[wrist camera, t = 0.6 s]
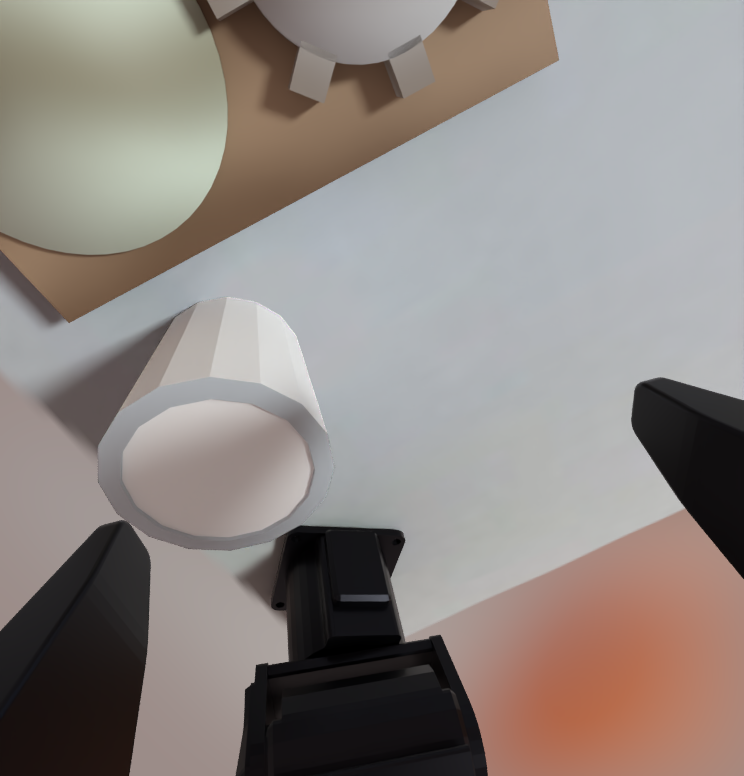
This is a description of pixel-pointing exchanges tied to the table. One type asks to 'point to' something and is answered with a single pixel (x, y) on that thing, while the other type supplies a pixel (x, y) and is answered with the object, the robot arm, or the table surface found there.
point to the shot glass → (219, 433)
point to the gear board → (218, 116)
